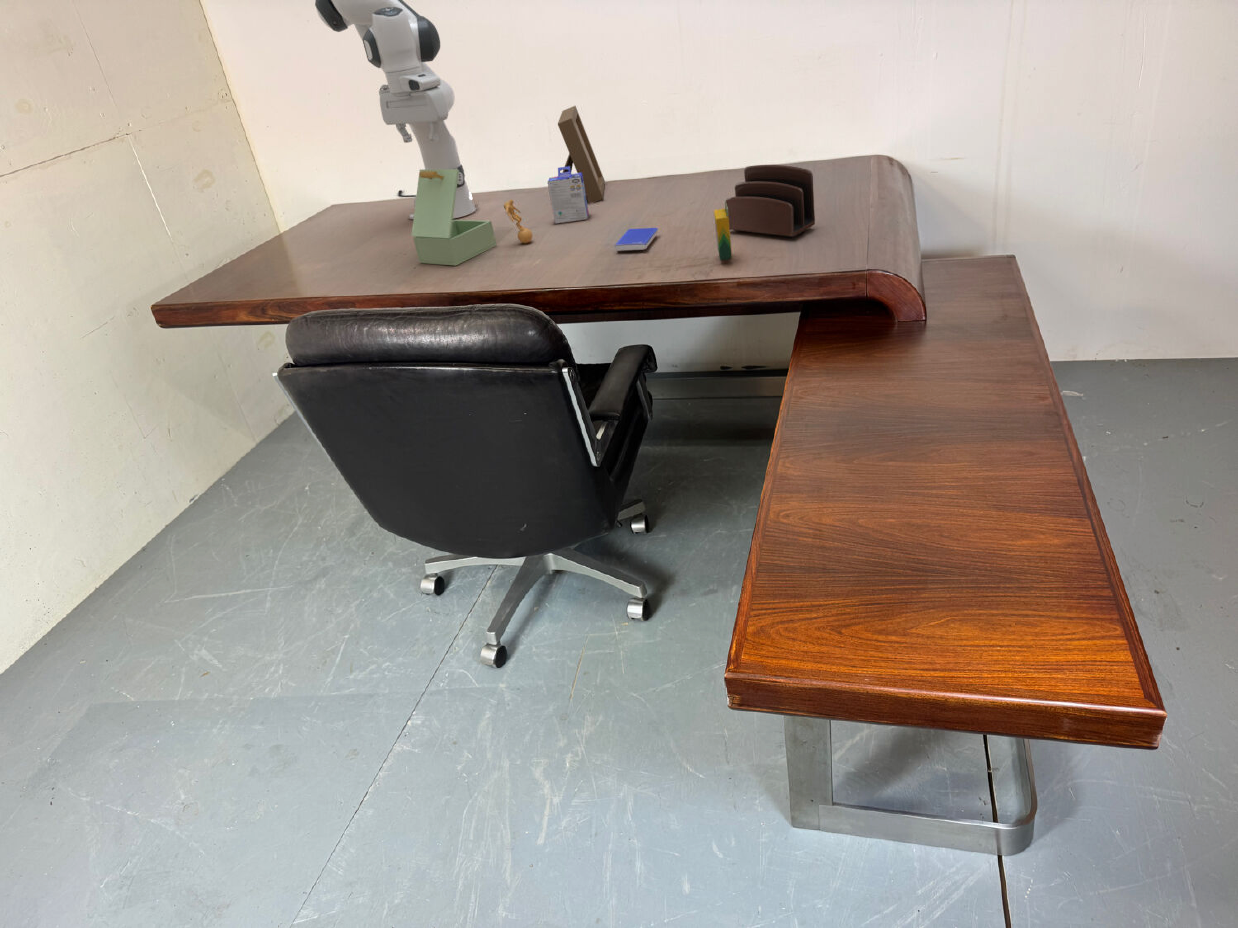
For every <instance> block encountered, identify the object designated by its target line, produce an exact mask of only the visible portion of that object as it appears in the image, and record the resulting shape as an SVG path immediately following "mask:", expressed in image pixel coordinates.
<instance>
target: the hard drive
mask: <svg viewBox="0 0 1238 928" xmlns="http://www.w3.org/2000/svg"><path fill="white" fill-rule="evenodd" d="M658 234H659V228H658V227H645V228H641V227H640V228H629V229H627V230H626V231H625V233H623V235H622V236H621V237H620V239H618V241H617V242H616V243H615V244H614V250H615V251H639V250H641V251H642V250H647V248H648V247H649V245H650V244H651V243H652V241H653V240H654V239H655V238H656V236H657V235H658Z"/></svg>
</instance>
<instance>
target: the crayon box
mask: <svg viewBox="0 0 1238 928" xmlns="http://www.w3.org/2000/svg"><path fill="white" fill-rule="evenodd" d="M725 206H726V208H725ZM713 215H714V216H713V217H714V223H715V224H714V225H715V235H716V236H715V237H716V246H717V252H718V257H719V261H727V260H732V259H733V250H732V241H731V231H730V228H729V215H728V207H727V204H726V200H724V208H718V209H714V210H713Z"/></svg>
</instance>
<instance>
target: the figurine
mask: <svg viewBox="0 0 1238 928" xmlns="http://www.w3.org/2000/svg"><path fill="white" fill-rule="evenodd" d="M514 203H515V202H514V200H513V199H509V200H508V201H506V202H504V204H503V208H504V210H505V213H506V214H507V216H508V217H509V218H510V221H511V222H512V223H514V222H515V221H516V224H515V225H516V228H518V229H519V230H518V232H517V239H518V241H519V242H520V243H522V244H529V243H530V242H532V240H533V232H532V231H531V229H529V228H526V227H525V226H523V225H521V222H522V220H523V219H522V216H520V215H519V214H521V211H520V210H519V209H518V208H517V207H515V206H514V205H513V204H514ZM516 211H517V212H516ZM518 213H519V214H518Z"/></svg>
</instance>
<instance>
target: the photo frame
mask: <svg viewBox="0 0 1238 928" xmlns="http://www.w3.org/2000/svg"><path fill="white" fill-rule="evenodd" d="M557 126H558V129H559V131H560V133H561V136H562V139H563V141H564V144H565V146H566V149H567V151H568V156H567V158H566V162H565V163H564V167H568V166H570V170H571V172H572V171H573V166H574V169H575V171H576V173H582V175H583V181H584V187H585V193H586V199H587V200H588V203H589V204H592V203H593V204H594V203H596V202H599V201H601V200H603V199H604V192H605V184H606V180H605V177H604V175H603V173H602V172H603V171H602V170H601V167H600V164H599V163H598V160H597V157H596V155H595V152H594V149H593V147H592V145H591V142H590V139H589V136H588V134H587V132H586V128H585V127H584V124H583V121H582V118H581V116H580V113H579V111H578V109H577V106H576V105H573V106H571V107H567V108H565V109H563V110H562V111H561V113H560V117H559V119H558V122H557ZM568 171H569V170H566V169H564V170H562V171H561V173H563V172H568Z"/></svg>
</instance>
